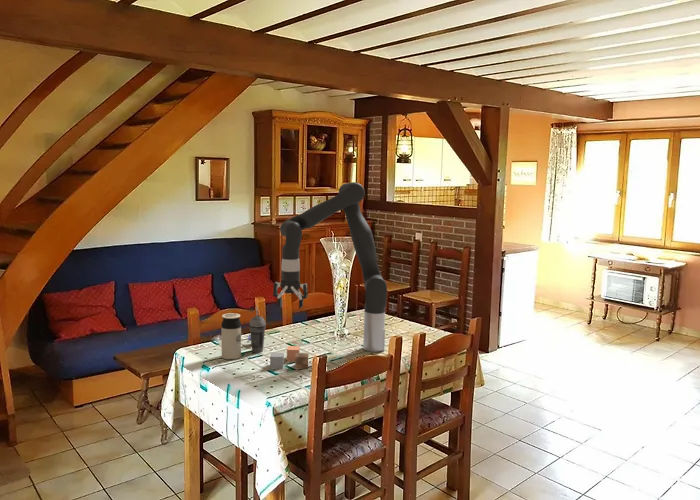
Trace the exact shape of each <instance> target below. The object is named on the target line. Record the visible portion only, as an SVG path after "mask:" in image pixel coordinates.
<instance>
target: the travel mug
mask: <svg viewBox="0 0 700 500" xmlns="http://www.w3.org/2000/svg"><path fill="white" fill-rule="evenodd" d="M221 315H222V316H221V317H222V322H221V323H220V324H221V325H220V326H221V358H222V359H224V360H227V359H233V360H237V359H239V358H241V357H242V322H241V320H240V318H241V314H240V313H235V312H234V313H233V312H229V313H224V314H221Z"/></svg>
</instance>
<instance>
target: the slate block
mask: <svg viewBox="0 0 700 500" xmlns="http://www.w3.org/2000/svg"><path fill="white" fill-rule="evenodd" d="M284 354H285V353H284V352H271V353H270V357H269V359H270V360H269V368H270V369H271V370H272V369H273V370H274V369H275V370H283V369H284V364H285V363H284V362H285V361H284V360H285V357H284V356H285V355H284Z"/></svg>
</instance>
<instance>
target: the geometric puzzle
mask: <svg viewBox="0 0 700 500" xmlns="http://www.w3.org/2000/svg"><path fill="white" fill-rule="evenodd" d="M246 341H247V342H249V343H250V342H251V332H249V334H248V337H247V340H246Z"/></svg>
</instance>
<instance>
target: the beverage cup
mask: <svg viewBox="0 0 700 500" xmlns="http://www.w3.org/2000/svg"><path fill="white" fill-rule="evenodd" d="M255 311H256V312H255V313H256V316H253V317H252V318H251V319H250V321H249V325H248V327H249V331H250V332H251V334H250V335H251V341H250V345H251V349H252V350H251V351H252V353H253V354H255V353H256V354H259V353H263V351H264V346H265V345H264V343H265V335H266V334H265V332H266V327H267V323H266V320H265V319H264V317H262V316H260V315H258V305H256V308H255ZM250 332H249V333H250Z"/></svg>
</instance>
